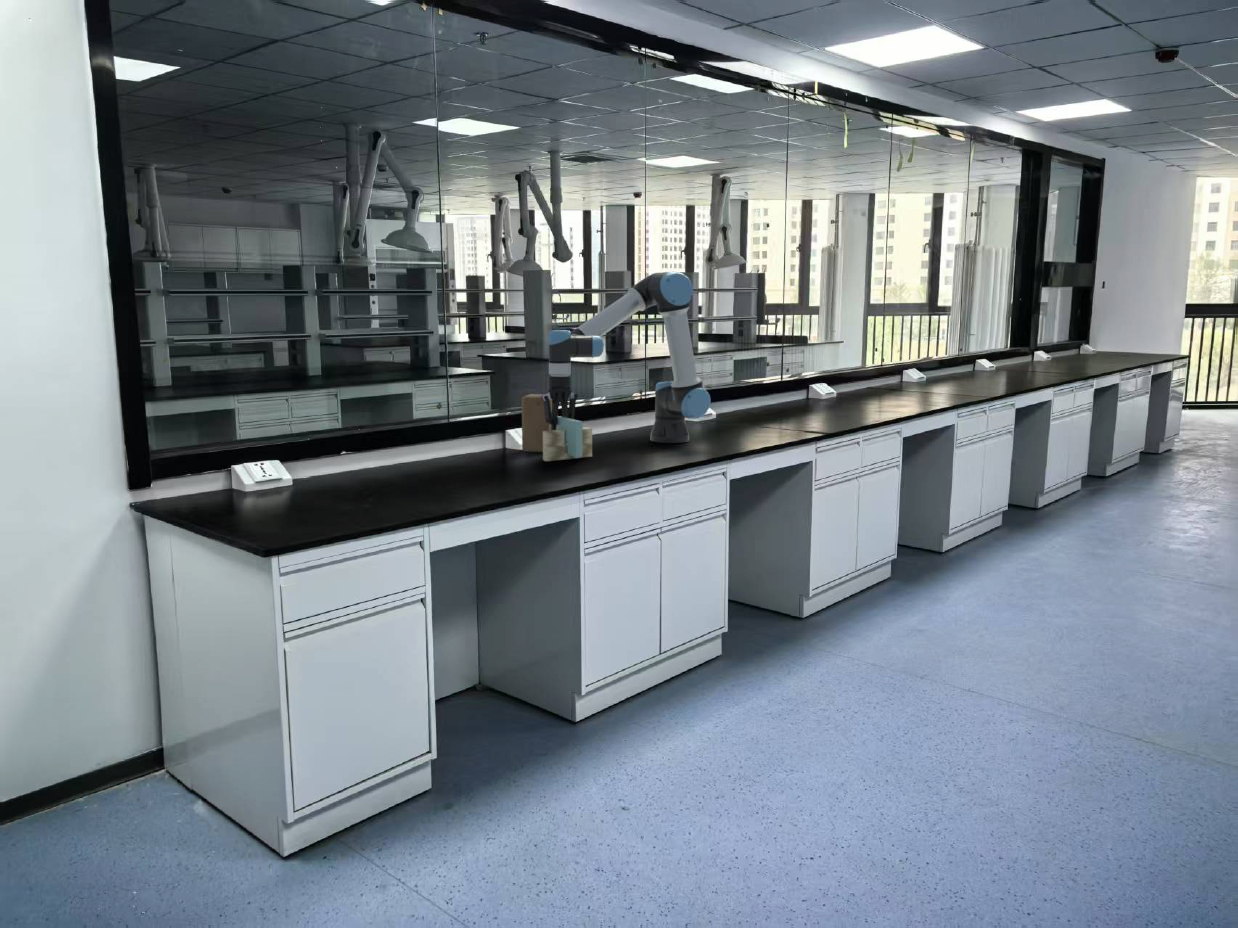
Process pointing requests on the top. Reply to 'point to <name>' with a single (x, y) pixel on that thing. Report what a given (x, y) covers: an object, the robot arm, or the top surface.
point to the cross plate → (571, 435)
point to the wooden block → (533, 422)
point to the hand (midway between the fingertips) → (560, 442)
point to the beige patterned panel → (564, 445)
